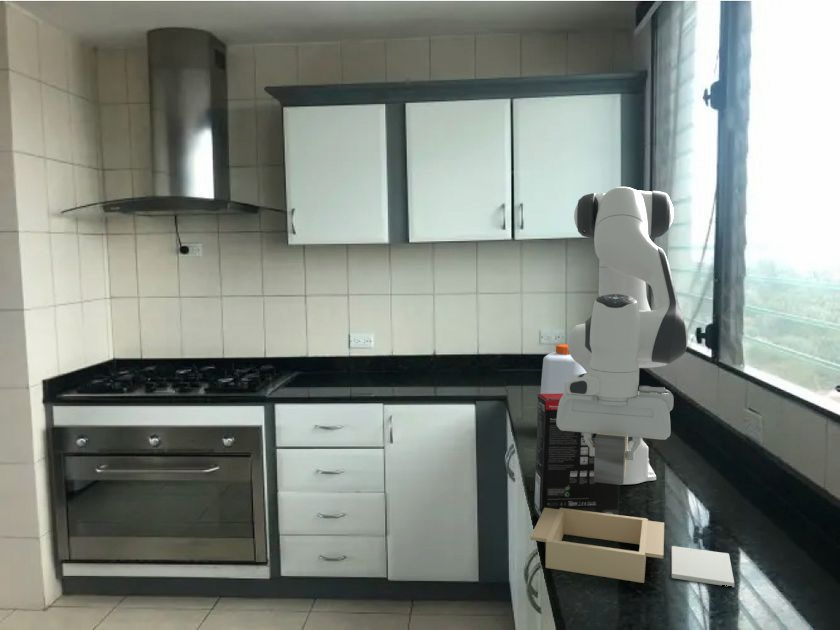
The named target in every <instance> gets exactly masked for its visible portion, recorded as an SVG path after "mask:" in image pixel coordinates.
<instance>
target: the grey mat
mask: <svg viewBox="0 0 840 630" xmlns="http://www.w3.org/2000/svg"><path fill="white" fill-rule="evenodd" d="M730 558H731V557H730V554H729V553H728V552H720V551H719V552H718V551H713V550H705V549H700V548H699V549H697V548H692V547H683V546H675V545H671V579H676V580H683V581H691V582H694V583H695V582H696V583H703V584H711V585H715V586H716V585H717V586H722V585H725V586H724V587H728V586H732V587H731V588H735V580H734V579H735V578H734V574H733V568H732V563H731V562H732V561H731V559H730ZM726 585H727V586H726Z"/></svg>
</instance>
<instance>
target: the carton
mask: <svg viewBox="0 0 840 630" xmlns="http://www.w3.org/2000/svg"><path fill="white" fill-rule="evenodd" d="M564 535H567V536H576V537H583V538H589V539H596V540H597V539H598V540H605V541H613V542H620V543H628V544H634V545H639V549H638V551H636V550H630V549H621V548H613V547H606V546H601V545H600V546H599V545H594V544H585V543H580V542H579V543H577V542H571V541H564V540H563V538H564ZM530 541H536V542H543V543H545V568H546V569H551V570H552V569H553V570H557V571H563V572H564V571H565V572H570V573H571V572H572V573H577V574H584V575H591V576H595V577H596V576H597V577H602V578H603V577H605V578H609V579H617V580H622V581H630V582H635V583H643V584H644V583H645V578H646V577H645V576H646V575H645V574H646V564H647V562H646V561H647V557H649V558H657V559H664V551H665V549H664V547H665V545H664V544H665V542H664V541H665V522H661V521H653V520H649V519H648V518H645V517H637V516H631V515H630V516H629V515H628V516H627V515H619V514H618V515H614V514H606V513H598V512H590V511H582V510H574V509H566V508H560V509H551V508H544V510H543V512H542V514H541V516H540V518H539V519H538V520H537V523H536V525H535V526H534V529H533V530H532V533H531V535H530Z"/></svg>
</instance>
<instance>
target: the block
mask: <svg viewBox="0 0 840 630" xmlns="http://www.w3.org/2000/svg"><path fill="white" fill-rule="evenodd" d="M626 448H628V436H626V435H616V434H605V433H597V435H596V437H595V459H594V482H600V483H608V484H617V485H619V486H623V485H624V484H623V483H624V478H625V474H626V470H627V460H626V459H625V457H626Z"/></svg>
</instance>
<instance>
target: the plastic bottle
mask: <svg viewBox="0 0 840 630" xmlns="http://www.w3.org/2000/svg"><path fill="white" fill-rule="evenodd" d="M584 373H587V372H586V371H585V369H584V368H583V367H582V366H581V365H580V364H578V363H577V362H576V361H575V360H574V359H573V358H572V357H571V355H570V353H569V351H568V346H567V344H565V343H564V344H563V343H562V344H561V343H560V344H557V345H556V346H555V351H553V352H550V353H548V354H546V355H545V356H544V357H543V359H542V369H541V382H540V384H541V385H540V393H539V394H563V393H565V391H564V383H565V381H566V380H567V379H568V378H570V377H572V376H575V375H580V374H584Z"/></svg>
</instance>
